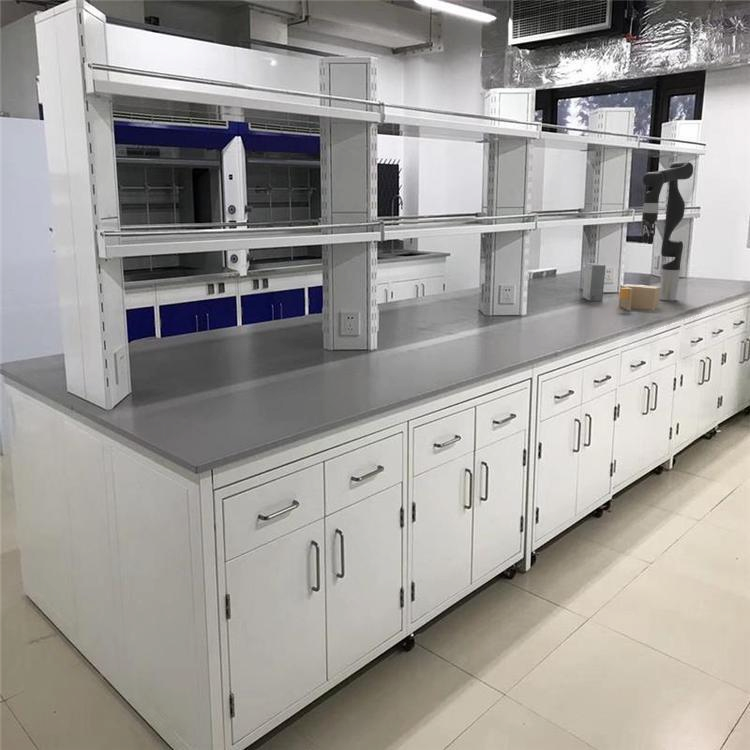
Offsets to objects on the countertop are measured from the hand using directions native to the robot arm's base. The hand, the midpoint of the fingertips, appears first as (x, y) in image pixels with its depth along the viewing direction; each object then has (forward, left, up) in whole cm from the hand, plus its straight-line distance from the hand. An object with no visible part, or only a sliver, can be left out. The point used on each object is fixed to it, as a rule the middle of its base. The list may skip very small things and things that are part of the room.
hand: (647, 243), depth 379 cm
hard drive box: (-4, -29, -33) cm, 44 cm away
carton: (+7, +1, -33) cm, 34 cm away
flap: (+20, -4, -33) cm, 38 cm away
